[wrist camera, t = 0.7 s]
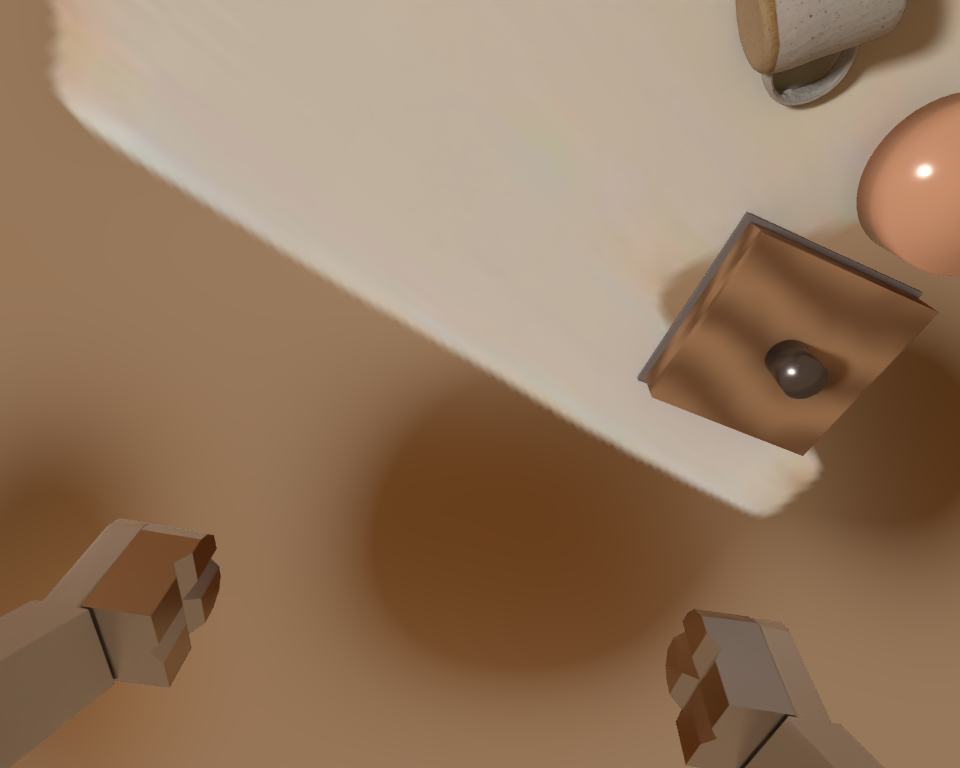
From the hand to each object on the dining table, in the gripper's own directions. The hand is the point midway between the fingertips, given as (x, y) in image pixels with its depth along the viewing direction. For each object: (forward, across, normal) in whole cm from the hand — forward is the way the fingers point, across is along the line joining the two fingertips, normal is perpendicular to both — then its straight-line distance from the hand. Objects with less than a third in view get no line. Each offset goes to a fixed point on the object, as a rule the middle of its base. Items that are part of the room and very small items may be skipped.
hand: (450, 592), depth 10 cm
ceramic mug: (+43, -19, -12) cm, 49 cm away
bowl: (+43, -33, -4) cm, 54 cm away
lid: (+43, -27, +12) cm, 52 cm away
